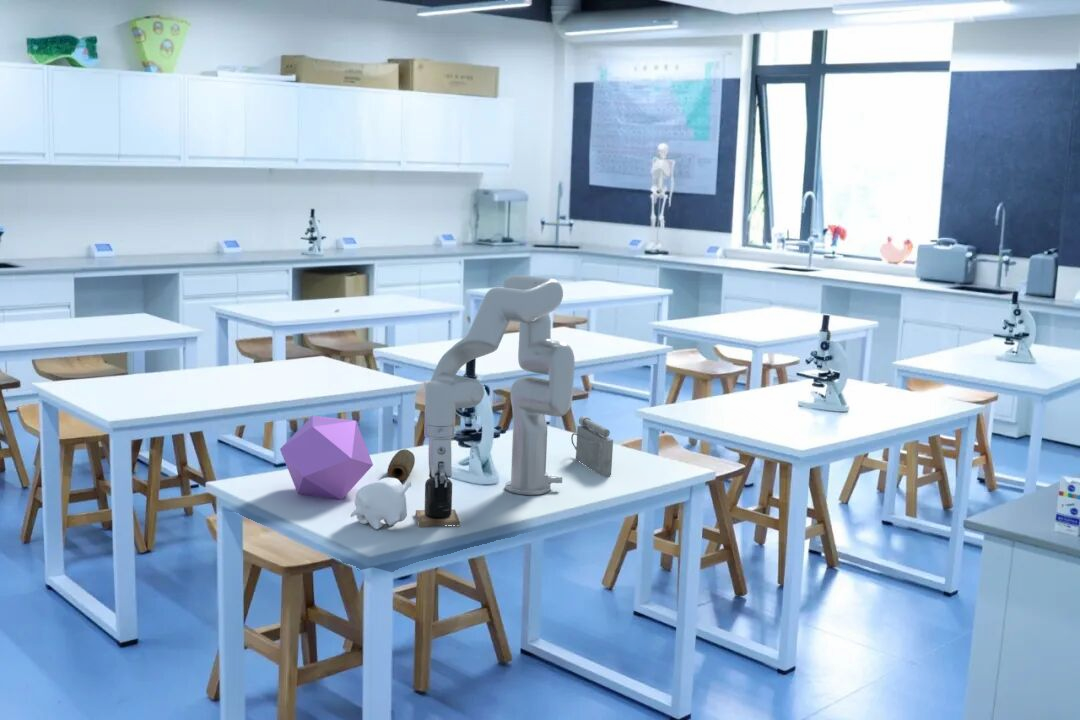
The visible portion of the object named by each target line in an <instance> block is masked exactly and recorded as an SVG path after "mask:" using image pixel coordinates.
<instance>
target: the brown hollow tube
mask: <svg viewBox="0 0 1080 720" xmlns="http://www.w3.org/2000/svg"><path fill="white" fill-rule="evenodd" d="M415 459H416V458H415V455H414V453H413V452H412V451H411V450H409V449H406V448H405V449H400V450H398V451H397V452H396V453H395V454H394V455H393V456H392V458H391V460H390V462H389V464H388V468H387V472H386V473H387V475H388V478H396V479H398V480H399V481H400V482H403V481H405V480H407V479H408V478H409V477H410V475H411V473H412V471H413V468H414V466H415V463H416V462H415V461H416V460H415Z"/></svg>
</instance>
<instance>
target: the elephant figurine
mask: <svg viewBox="0 0 1080 720" xmlns="http://www.w3.org/2000/svg"><path fill="white" fill-rule="evenodd" d="M411 487H412V482H410V481H409V482H407V483H405V486H403V484H402V481H399V480H398V479H396V478H390V477H384V478H381V479H378V480H376V481H373V482H370V483H368V484H365V485H363V486H362V487H361V488H360V489H359V490H358V491H357V492H356V494H355V498H354V505H355V509H354V510H353V511H352V512H351V513H350V515H349V516H350V518H353V517H354V516H356V519H357V520H358V522H360V523H361V524H363V525H366V524H370V526H371V527H373V529H375V530H379V529H381V528H382V527H383V525H384V523H383V522H381V521H382V520H383V521H384V522H385V523H386V525H387V524H388V526H393V525H396V524H398V523H401V522H404V521H405V519H407V516H408V515H407V514H408V513H407V512H408V510H407V498H406V494H405V493H407V491H408V489H409V488H411Z"/></svg>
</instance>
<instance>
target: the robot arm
mask: <svg viewBox="0 0 1080 720" xmlns="http://www.w3.org/2000/svg"><path fill="white" fill-rule="evenodd" d="M563 290H564V289H563V287H562V284H561V283H560V282H559V281H558V280H556V279H554V278H550V277H542V276H541V277H540V276H533V275H526V274H525V275H524V274H514V275H509V276H508V277H507V278H505V280H504V281H503V286H502V287H499V286H498V287H497V286H496V287H493V288H491V289H489V290H488V291H487V292H486V294H485V295H484V297H483V300H482V302H481V304H480V306H479V309H478V310H477V313H476V315H475V318H474V320H473V321H472V324H471V325H470V329H469V330H468V333H467V334H466V335H465V336H464V337H463V338H462V339H461V340H459V341H458V342H456V343H455V344H453V346H452V347H450V348H449V349H448V350H447V351H446V352H445V353H444V354H443V355H442V356H441V358H440V359H439V361H438V363H437V365H436V368H435V370H433V371H434V372H433V374H432V376H431V379H430V381H428V382H427V383H426V384H425V385H426V386H425V391H424V395H425V396H424V428H423V429H424V437H425V438H427V439H428V468H429V470H428V471H429V472H430V471H431V475H432V477H433V478H435V487H434V503H446V502H447V482H446V475H447V477H448V479H450V478H452V477H453V475H452V472H453V471H452V439H454V438H455V434H456V433H455V432H456V410H457V409H470V408H471V409H472V408H473V407H476V406H477V405H479V404H480V403H481V402H482V400H483V398H484V395H485V390H484V389H485V388H484V387H483V385H482V384H481V383H482V382H480V381H478V380H477V379H474V378H470V377H467V376H461V375H457V373H458V371H459V370H460V369H461V368H462V367H463V366H465V364H467V363H469V362H471V361H472V360H475V359H478V358H481V357H484V356H487V355H489V354H492V353H494V352H496V351H497V350H498V348H499V346H500V343H501V341H502V339H503V337H504V335H505V333H506V330H507V328H508V326H509V323H510V322H514V323H519V331H518V332H519V333H518V352H517V354H518V355H517V358H518V359H517V360H518V365H519V367H520V368H521V369H522V370H523V371H526V372H529V373H533V374H539V375H545V376H548V379H547V378H542V377H536V376H530V375H529V376H528V375H527V376H521V377H519V378H517V379H515V380H514V381H513V383H512V384H511V387H510V391H509V392H510V393H509V394H510V403H511V409H512V442H511V443H512V444H511V445H512V446H511V448H512V449H511V473H510V475H511V476H510V480H508V481H506V482H505V485H504V487H505V490H506V491H508V492H510V493H513V494H517V495H526V496H537V495H543V494H546V493H548V492H550V491H551V488H552V487H551V486H552V484H563V476H561V475H560V476H559V475H556V474H548V473H547V470H546V469H547V446H548V424H547V421H546V417H545V416H549V417H550V416H551V417H563V416H565V415H567V413H568V412H569V411H570V409H571V406H572V403H573V393H574V379H575V378H574V377H575V366H576V365H575V359H576V358H575V354H574V351H573V349H572V347H571V346H570V345H569V344H568V343H566V342H563V341H559V340H552V338H551V336H552V335H551V333H552V332H551V328H552V327H551V326H552V323H551V322H552V321H551V317H550V313H552V312H554V311H555V310H556V309H557V308H559V306H560V305H561V303H562V301H563V297H564V291H563ZM544 415H545V416H544ZM438 467H439V468H438ZM437 479H438V481H437Z"/></svg>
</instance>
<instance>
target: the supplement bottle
mask: <svg viewBox="0 0 1080 720" xmlns="http://www.w3.org/2000/svg"><path fill="white" fill-rule="evenodd" d="M438 468H439V467H438ZM428 477H429V478H428V479H427V480H426V481H425V482H424V483H425V484H424V510H425V515H426V516H427V517H428V518H432V519H445V518H448V517H450V516H451V513H452V508H453V506H452V505H453V481H452V480H451V479H450V478H449V477H447V475H446V482H447V502H446V503H434V487H435V478H433V477H432V475H431V471H430V470H429V474H428ZM437 481H438V479H437Z"/></svg>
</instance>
